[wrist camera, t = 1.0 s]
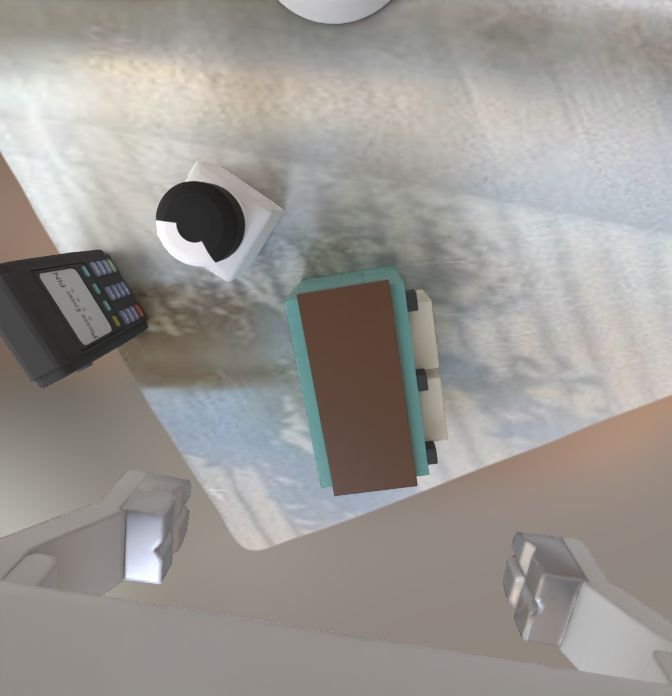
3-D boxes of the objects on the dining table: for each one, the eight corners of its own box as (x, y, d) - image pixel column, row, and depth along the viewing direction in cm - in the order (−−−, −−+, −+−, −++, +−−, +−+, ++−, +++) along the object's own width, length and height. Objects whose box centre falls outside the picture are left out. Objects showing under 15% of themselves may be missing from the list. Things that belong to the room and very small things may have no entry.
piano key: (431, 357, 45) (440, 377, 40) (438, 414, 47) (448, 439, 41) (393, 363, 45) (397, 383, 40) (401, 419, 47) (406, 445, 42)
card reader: (158, 326, 50) (77, 374, 36) (125, 343, 51) (33, 397, 36) (109, 244, 48) (2, 259, 34) (75, 262, 49) (-44, 285, 34)
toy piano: (401, 259, 47) (415, 276, 35) (422, 420, 51) (441, 483, 40) (300, 275, 48) (281, 297, 36) (329, 432, 52) (321, 498, 40)
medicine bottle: (220, 165, 46) (173, 150, 34) (286, 210, 46) (261, 211, 35) (183, 231, 47) (126, 238, 36) (246, 273, 48) (211, 293, 37)
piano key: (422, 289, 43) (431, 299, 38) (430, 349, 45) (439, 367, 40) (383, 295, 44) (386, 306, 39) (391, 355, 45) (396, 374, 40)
